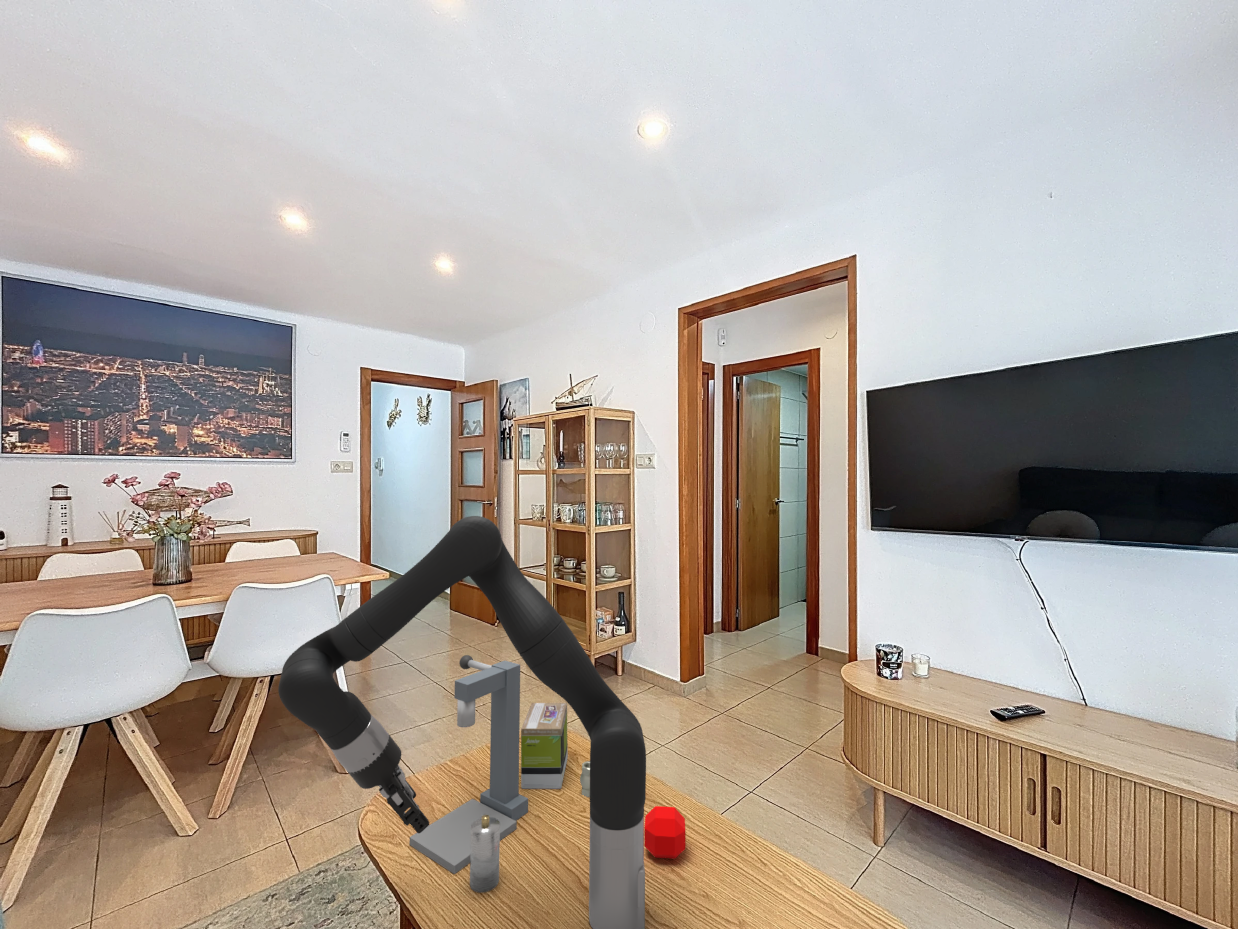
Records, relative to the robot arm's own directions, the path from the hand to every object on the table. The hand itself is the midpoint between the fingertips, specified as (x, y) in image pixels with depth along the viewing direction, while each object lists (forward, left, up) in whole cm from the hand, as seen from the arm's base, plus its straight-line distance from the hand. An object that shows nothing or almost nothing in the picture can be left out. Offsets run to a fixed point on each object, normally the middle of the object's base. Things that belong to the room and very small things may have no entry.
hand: (417, 813), depth 92 cm
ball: (-45, -13, -16) cm, 49 cm away
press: (-2, -22, -16) cm, 27 cm away
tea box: (-18, -42, -16) cm, 48 cm away
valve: (-32, -31, -16) cm, 48 cm away
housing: (-11, -5, -16) cm, 20 cm away
